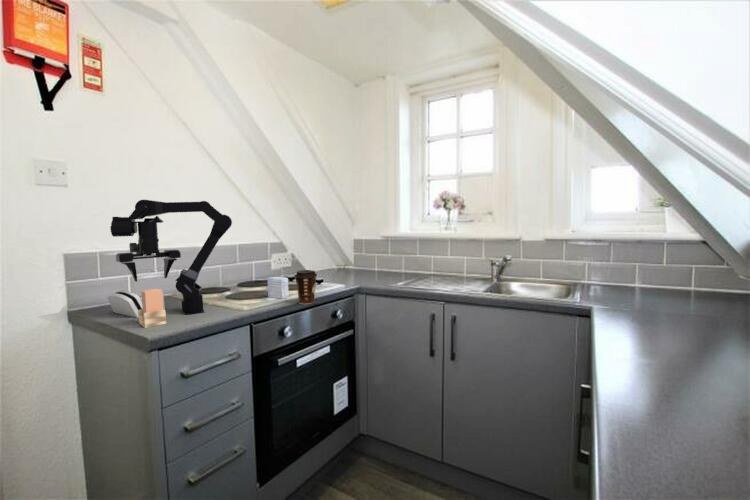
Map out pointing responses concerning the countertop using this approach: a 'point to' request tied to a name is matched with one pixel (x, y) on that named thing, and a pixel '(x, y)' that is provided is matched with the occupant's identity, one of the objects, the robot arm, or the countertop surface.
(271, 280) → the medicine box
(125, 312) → the white dark-banded wedge
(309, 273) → the coffee cup
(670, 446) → the countertop surface
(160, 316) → the tan wooden block
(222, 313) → the countertop surface
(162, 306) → the peach tall block
